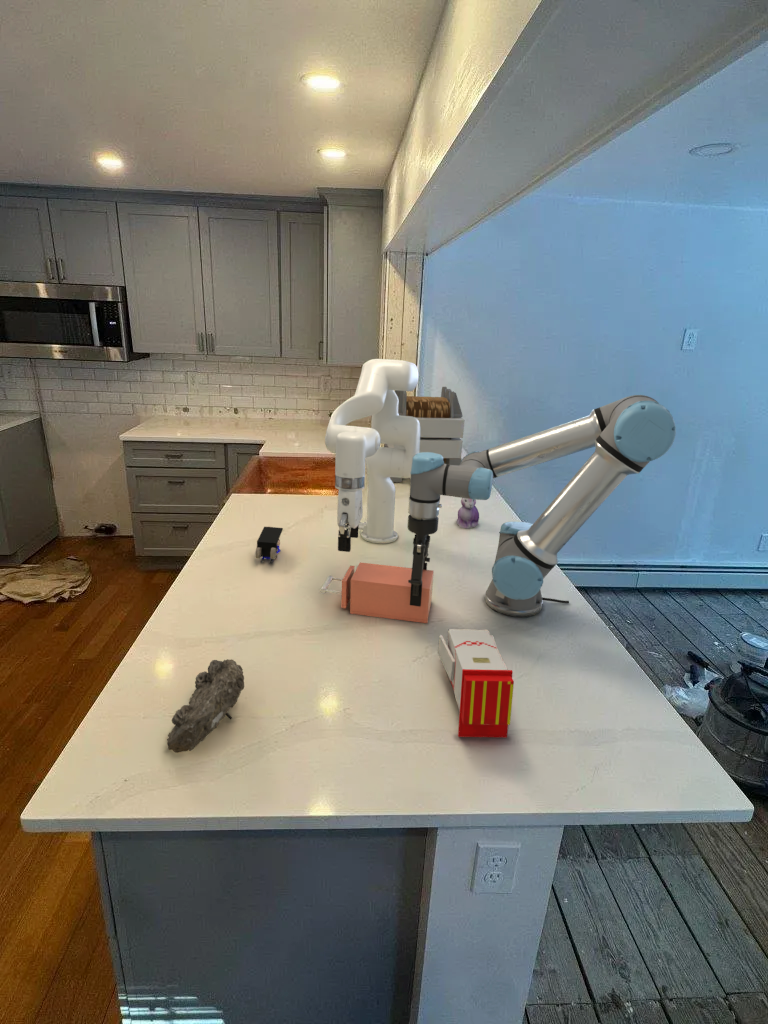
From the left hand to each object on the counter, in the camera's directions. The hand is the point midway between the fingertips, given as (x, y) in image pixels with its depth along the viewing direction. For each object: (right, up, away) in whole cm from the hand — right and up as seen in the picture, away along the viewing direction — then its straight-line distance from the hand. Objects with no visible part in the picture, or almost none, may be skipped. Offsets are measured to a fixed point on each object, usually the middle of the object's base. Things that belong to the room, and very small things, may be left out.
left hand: (348, 543), depth 149 cm
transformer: (+27, +27, +126) cm, 131 cm away
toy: (+27, -29, -31) cm, 50 cm away
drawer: (+5, -16, +2) cm, 17 cm away
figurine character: (-26, -6, +28) cm, 39 cm away
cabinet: (+11, -17, +1) cm, 21 cm away
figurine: (+41, +4, +62) cm, 74 cm away
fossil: (-23, -31, -41) cm, 56 cm away
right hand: (+18, -13, -2) cm, 22 cm away
